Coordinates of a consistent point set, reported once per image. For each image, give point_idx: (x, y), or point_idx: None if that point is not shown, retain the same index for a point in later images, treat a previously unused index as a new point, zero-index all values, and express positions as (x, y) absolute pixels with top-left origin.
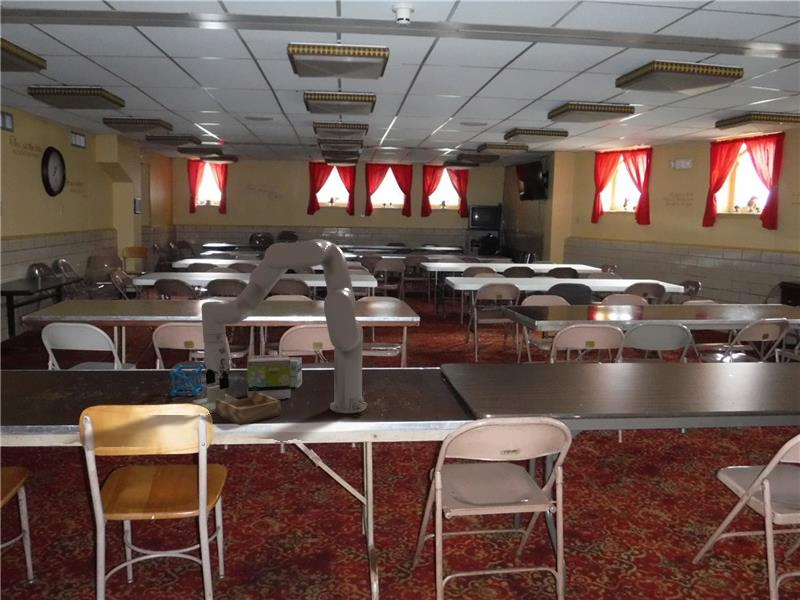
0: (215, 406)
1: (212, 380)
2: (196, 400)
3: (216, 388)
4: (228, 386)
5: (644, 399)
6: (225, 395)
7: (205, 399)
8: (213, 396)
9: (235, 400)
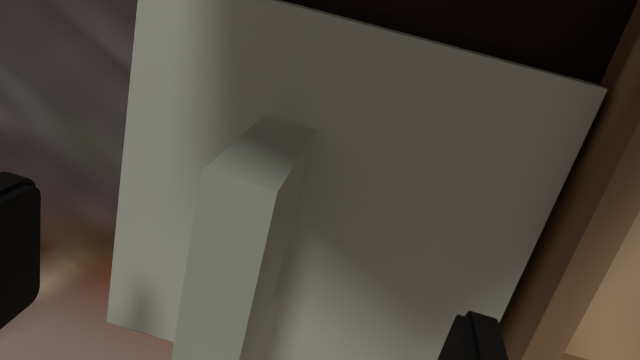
0: (421, 349)
1: (9, 247)
2: (120, 302)
3: (253, 306)
4: (495, 332)
5: None
6: (192, 17)
7: (156, 243)
8: (271, 289)
9: (588, 230)
